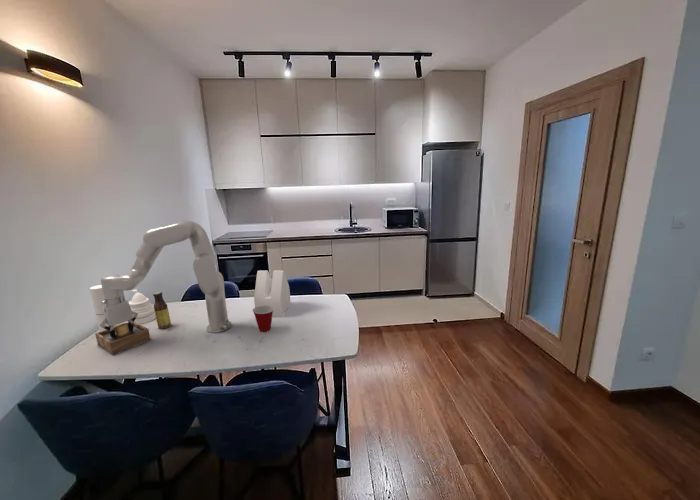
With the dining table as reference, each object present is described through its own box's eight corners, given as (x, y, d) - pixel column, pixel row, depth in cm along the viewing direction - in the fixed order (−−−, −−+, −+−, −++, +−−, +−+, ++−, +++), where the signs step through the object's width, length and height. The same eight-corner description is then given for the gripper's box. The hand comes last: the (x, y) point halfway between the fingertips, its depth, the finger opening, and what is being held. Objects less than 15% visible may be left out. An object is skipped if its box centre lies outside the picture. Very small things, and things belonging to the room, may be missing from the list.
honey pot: (124, 322, 171) (117, 293, 167) (146, 313, 183) (140, 285, 179) (139, 326, 166) (132, 295, 162) (160, 316, 178) (155, 288, 174)
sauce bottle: (173, 324, 166) (168, 291, 162) (163, 330, 161) (157, 295, 156) (165, 323, 169) (159, 290, 164) (154, 328, 163) (148, 294, 158)
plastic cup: (280, 328, 158) (278, 307, 155) (261, 336, 150) (259, 314, 148) (268, 322, 165) (266, 302, 162) (250, 330, 157) (248, 309, 155)
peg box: (150, 339, 151) (148, 328, 149) (112, 355, 138) (110, 343, 136) (134, 331, 161) (132, 320, 159) (97, 344, 148) (95, 333, 146)
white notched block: (267, 303, 192) (263, 266, 186) (290, 303, 191) (287, 266, 185) (256, 317, 173) (251, 276, 168) (282, 317, 172) (278, 275, 167)
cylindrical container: (119, 328, 164) (110, 285, 159) (104, 334, 158) (94, 289, 152) (112, 326, 167) (102, 283, 162) (97, 332, 161) (86, 288, 155)
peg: (132, 339, 150) (129, 324, 148) (121, 343, 146) (117, 328, 144) (128, 336, 152) (124, 322, 151) (116, 341, 148) (112, 326, 147)
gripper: (96, 308, 135) (104, 343, 139) (139, 295, 149) (145, 328, 153) (90, 305, 139) (98, 339, 143) (132, 293, 153) (138, 325, 157)
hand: (122, 333), depth 148 cm, fingers open, 6 cm apart
